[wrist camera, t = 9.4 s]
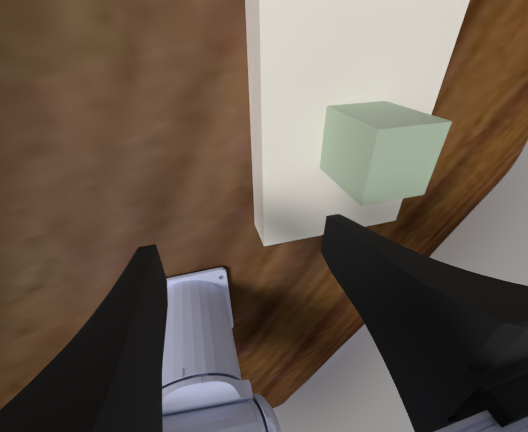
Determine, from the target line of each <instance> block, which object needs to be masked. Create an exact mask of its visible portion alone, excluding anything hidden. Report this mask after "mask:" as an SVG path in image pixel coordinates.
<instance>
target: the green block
mask: <svg viewBox="0 0 528 432" xmlns="http://www.w3.org/2000/svg"><path fill="white" fill-rule="evenodd" d="M451 123H452V121H449V120H446V119H443V118H439V117H436V116H433V115H430V114H426V113H423V112H420V111H417V110H413V109H410V108H407V107H404V106H400V105H397V104H394V103H390V102H387V101H377V102H365V103H354V104H342V105H330V106H327V107H326V116H325V124H324V133H323V142H322V151H321V160H320V169H321V170H322V171H323V172H324V173H325V174H327V175H328V176H329V177H330V178H331V179H332V180H333V181H334V182H335V183H336V184H337V185H339V186H340V187H341V188H342V189H343V190H344V191H345V192H346V193H347V194H348V195H350V196H351V197H352V198H353V199H354V200H355V201H356V202H357V203H358V204H359V205H360V206H364V205H369V204H375V203H381V202H386V201H392V200H397V199H403V198H408V197H414V196H419V195H424V194H425V191H426V188H427V186H428V183H429V180H430V178H431V175H432V173H433V170H434V167H435V165H436V162H437V159H438V157H439V154H440V152H441V149H442V146H443V144H444V141H445V139H446V136H447V133H448V131H449V128H450V125H451Z"/></svg>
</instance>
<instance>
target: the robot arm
mask: <svg viewBox="0 0 528 432" xmlns="http://www.w3.org/2000/svg"><path fill="white" fill-rule="evenodd" d="M321 252H322V254H323V256H324V259H325V261H326V263H327V265H328V267H329V269H330V270H331V272H332V274H333V275H334V277H335V278H336V280H337V281H338V283H339V284H340V286H341V287H342V289H343V290H344V292H345V293H346V295H347V296H348V298H349V299H350V301H351V302H352V303H353V305H354V306H355V308H356V309H357V311H358V313H359V314H360V316H361V317H362V319H363V321H364V323H365V325H366V326H367V328H368V330H369V332H370V334H371V336H372V337H373V340H374V342H375V344H376V346H377V348H378V350H379V352H380V354H381V355H382V357H383V359H384V362H385V363H386V366H387V368H388V370H389V372H390V375H391V377H392V379H393V381H394V383H395V385H396V387H397V390H398V392H399V394H400V397H401V399H402V401H403V404H404V406H405V409H406V411H407V413H408V416H409V418H410V421H411V423H412V426H413V428H414V431H415V432H528V286H525V285H520V284H516V283H511V282H507V281H503V280H499V279H495V278H491V277H488V276H483V275H480V274H477V273H473V272H470V271H467V270H464V269H460V268H458V267H454V266H451V265H448V264H445V263H443V262H440V261H437V260H434V259H432V258H429V257H427V256H424V255H422V254H419V253H417V252H415V251H412V250H410V249H408V248H406V247H403V246H401V245H399V244H397V243H395V242H393V241H391V240H389V239H387V238H385V237H383V236H381V235H379V234H377V233H375V232H373V231H371V230H369V229H368V228H366V227H364V226H362V225H360V224H358V223H356V222H354V221H353V220H351V219H349V218H347V217H345V216H343V215H340V214H335V215H329V216H326V222H325V228H324V234H323V240H322V246H321ZM233 327H234V324H233V317H232V310H231V302H230V295H229V288H228V281H227V273H226V269H225V268H223V267H219V268H214V269H210V270H205V271H200V272H195V273H190V274H185V275H180V276H176V277H171V278H166V276H165V273H164V269H163V266H162V263H161V260H160V256H159V253H158V250H157V246H156V244H155V245H149V246H143V247H139V248H138V249H137V250H136V252H135V253H134V255H133V257H132V258H131V260H130V262H129V263H128V265H127V267H126V268H125V270H124V271H123V273H122V274H121V276H120V277H119V279H118V280H117V282H116V283H115V285H114V286H113V288H112V289H111V291H110V292H109V293H108V295H107V296H106V298H105V299H104V300H103V302H102V303H101V304H100V305H99V307H98V308H97V309H96V311H95V312H94V313H93V315H92V316H91V317H90V318H89V320H88V321H87V322H86V323H85V325H84V326H83V327H82V328H81V329H80V331H79V332H78V333H77V334H76V335H75V336H74V337H73V339H72V340H71V341H70V342H69V343H68V344H67V345H66V346H65V347H64V349H63V350H62V351H61V352H60V353H59V354H58V355H57V356H56V357H55V358H54V359H53V360H52V361H51V362H50V363H49V364H48V365H47V366H46V367H45V368H44V369H43V370H42V371H41V372H40V373H39V374H38V375H37V376H36V377H35V378H34V379H33V380H32V381H31V382H30V383H29V384H28V385H27V386H26V387H25V388H24V389H23V390H22V391H21V392H19V393H18V394H17V395H16V396H15V397H14V398H13V399H12V400H11V401H10V402H9V403H8V404H6V405H5V406H4V407H3V408H2V409H1V410H0V432H281V428H280V425H279V422H278V419H277V417H276V415H275V413H274V411H273V409H272V408H271V406H270V405H269V404H268V403H267V401H266V400H265V399H264V398H263V397H262V396H261V395H259V394H253V393H252V389H251V384H250V380H242V379H241V374H240V369H239V364H238V359H237V353H236V348H235V343H234V338H233V333H232V328H233Z"/></svg>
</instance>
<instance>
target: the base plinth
mask: <svg viewBox="0 0 528 432" xmlns="http://www.w3.org/2000/svg"><path fill="white" fill-rule="evenodd" d="M469 1H470V0H245V9H246V32H247V56H248V79H249V103H250V126H251V150H252V173H253V197H254V220H255V226H256V229H257V231H258V234H259V236H260V238H261V241H262V243H263V245H264V246H269V245H274V244H279V243H284V242H289V241H294V240H299V239H304V238H309V237H314V236H320V235H323V234H324V228H325V222H326V216H329V215H335V214H340V215H343V216H345V217H347V218H349V219H351V220H353V221H354V222H356V223H358V224H360V225H362V226H364V227H365V226H371V225H376V224H381V223H386V222H391V221H396V218H397V215H398V212H399V209H400V206H401V203H402V200H403V199H397V200H392V201H386V202H381V203H375V204H369V205H364V206H360V205H359V204H358V203H357V202H356V201H355V200H354V199H353V198H352V197H351V196H350V195H348V194H347V193H346V192H345V191H344V190H343V189H342V188H341V187H340V186H339V185H337V184H336V183H335V182H334V181H333V180H332V179H331V178H330V177H329V176H328V175H327V174H325V173H324V172H323V171H322V170H321V169H320V160H321V151H322V142H323V133H324V124H325V116H326V107H327V106H330V105H342V104H354V103H365V102H377V101H387V102H390V103H394V104H397V105H400V106H404V107H407V108H410V109H413V110H417V111H420V112H423V113H426V114H430V115H431V114H432V111H433V108H434V105H435V102H436V99H437V96H438V93H439V90H440V87H441V84H442V81H443V78H444V75H445V72H446V69H447V66H448V63H449V60H450V57H451V54H452V51H453V48H454V45H455V42H456V39H457V36H458V34H459V31H460V28H461V25H462V22H463V19H464V16H465V13H466V10H467V7H468V4H469Z"/></svg>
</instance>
